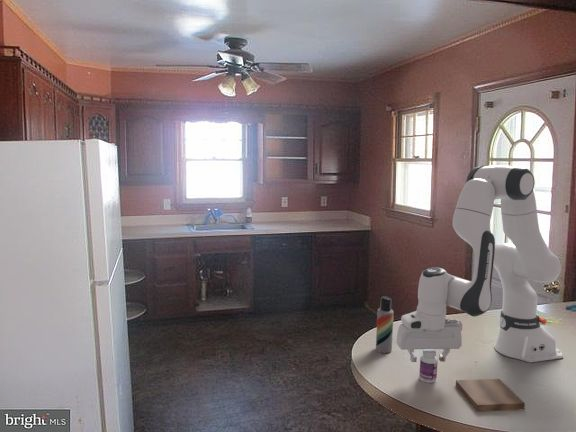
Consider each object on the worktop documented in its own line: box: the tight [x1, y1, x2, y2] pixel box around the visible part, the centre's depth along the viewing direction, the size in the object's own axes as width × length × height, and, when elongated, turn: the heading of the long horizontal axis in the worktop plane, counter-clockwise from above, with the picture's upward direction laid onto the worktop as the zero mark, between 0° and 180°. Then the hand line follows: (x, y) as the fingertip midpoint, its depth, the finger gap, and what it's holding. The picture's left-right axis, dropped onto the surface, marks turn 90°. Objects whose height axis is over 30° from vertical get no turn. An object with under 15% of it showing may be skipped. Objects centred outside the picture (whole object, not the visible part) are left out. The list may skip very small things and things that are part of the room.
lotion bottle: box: [375, 296, 395, 354], centre depth 172 cm, size 6×6×20 cm
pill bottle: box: [418, 349, 439, 384], centre depth 152 cm, size 5×5×10 cm
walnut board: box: [455, 378, 526, 413], centre depth 142 cm, size 14×14×2 cm
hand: (427, 361), depth 152 cm, fingers open, 8 cm apart
